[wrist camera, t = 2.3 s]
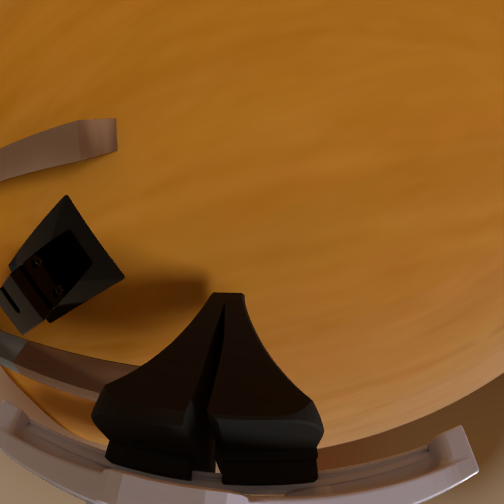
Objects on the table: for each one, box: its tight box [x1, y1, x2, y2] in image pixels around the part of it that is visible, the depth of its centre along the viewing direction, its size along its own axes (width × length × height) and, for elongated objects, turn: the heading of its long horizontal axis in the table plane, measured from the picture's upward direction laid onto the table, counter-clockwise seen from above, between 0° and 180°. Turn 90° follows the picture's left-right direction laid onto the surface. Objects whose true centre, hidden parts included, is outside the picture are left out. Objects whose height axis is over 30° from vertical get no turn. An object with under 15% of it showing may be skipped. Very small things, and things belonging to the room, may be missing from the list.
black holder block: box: [0, 195, 124, 335], centre depth 12 cm, size 12×7×5 cm, turn 118°
